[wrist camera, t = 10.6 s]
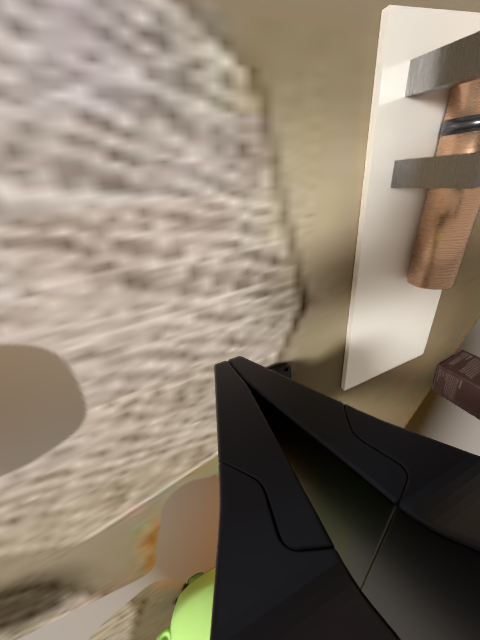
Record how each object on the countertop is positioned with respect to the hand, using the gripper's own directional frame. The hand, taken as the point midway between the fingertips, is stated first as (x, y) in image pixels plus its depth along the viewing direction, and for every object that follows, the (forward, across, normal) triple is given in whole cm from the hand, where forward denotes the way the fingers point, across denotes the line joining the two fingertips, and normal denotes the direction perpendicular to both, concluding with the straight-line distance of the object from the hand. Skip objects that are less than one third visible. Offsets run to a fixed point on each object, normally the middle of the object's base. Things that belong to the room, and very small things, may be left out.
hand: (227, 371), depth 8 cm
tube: (+11, -25, -3) cm, 27 cm away
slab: (+12, -24, +3) cm, 27 cm away
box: (+12, -41, +26) cm, 50 cm away
